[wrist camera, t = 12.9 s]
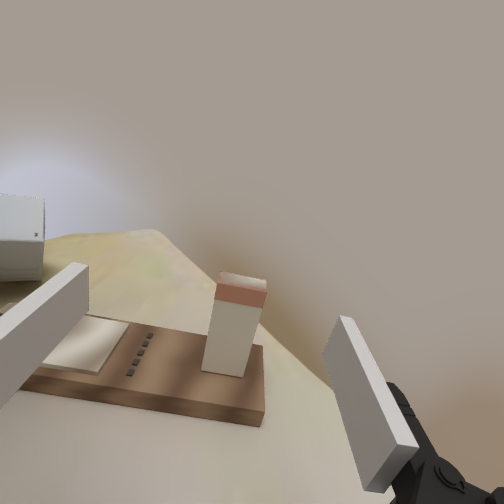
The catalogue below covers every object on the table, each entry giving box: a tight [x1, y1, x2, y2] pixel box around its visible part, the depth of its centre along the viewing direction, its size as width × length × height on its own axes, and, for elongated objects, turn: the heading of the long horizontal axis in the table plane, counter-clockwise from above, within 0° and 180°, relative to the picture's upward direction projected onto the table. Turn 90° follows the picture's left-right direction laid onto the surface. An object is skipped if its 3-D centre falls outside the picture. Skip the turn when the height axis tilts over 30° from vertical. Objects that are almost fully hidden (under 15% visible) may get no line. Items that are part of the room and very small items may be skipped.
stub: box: [201, 272, 267, 377], centre depth 31 cm, size 5×2×12 cm, turn 89°
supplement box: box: [0, 194, 45, 282], centre depth 40 cm, size 7×7×13 cm
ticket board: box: [0, 302, 265, 427], centre depth 33 cm, size 33×10×3 cm, turn 89°
